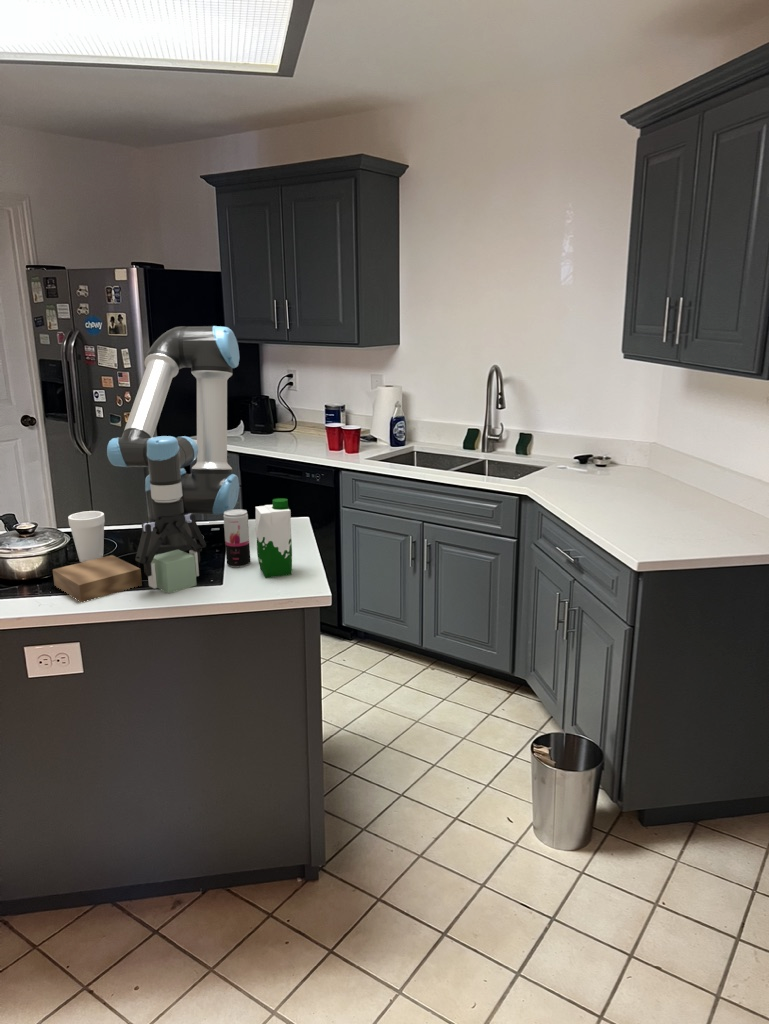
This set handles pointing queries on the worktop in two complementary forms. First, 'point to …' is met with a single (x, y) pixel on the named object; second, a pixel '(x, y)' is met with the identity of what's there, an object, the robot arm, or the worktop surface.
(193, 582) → the sage cube
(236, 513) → the beverage can
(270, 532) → the milk carton
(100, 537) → the foam cup
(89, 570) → the walnut block
